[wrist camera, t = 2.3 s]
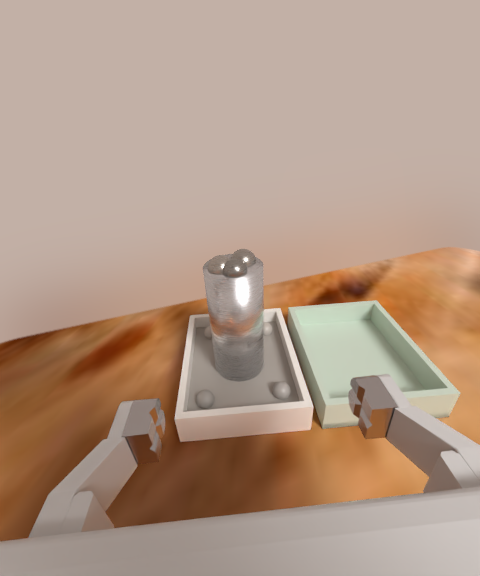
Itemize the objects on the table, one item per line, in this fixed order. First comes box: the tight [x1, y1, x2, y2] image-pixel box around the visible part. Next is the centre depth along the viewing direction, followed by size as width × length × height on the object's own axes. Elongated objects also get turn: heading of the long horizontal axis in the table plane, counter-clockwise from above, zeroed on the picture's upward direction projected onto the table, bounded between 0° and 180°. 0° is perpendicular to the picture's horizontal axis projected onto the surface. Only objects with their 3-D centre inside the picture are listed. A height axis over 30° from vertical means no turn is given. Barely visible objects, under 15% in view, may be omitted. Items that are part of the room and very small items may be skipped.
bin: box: [288, 300, 460, 429], centre depth 29 cm, size 11×14×3 cm
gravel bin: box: [174, 308, 314, 442], centre depth 29 cm, size 11×14×3 cm
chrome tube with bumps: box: [203, 249, 264, 382], centre depth 26 cm, size 5×5×12 cm
